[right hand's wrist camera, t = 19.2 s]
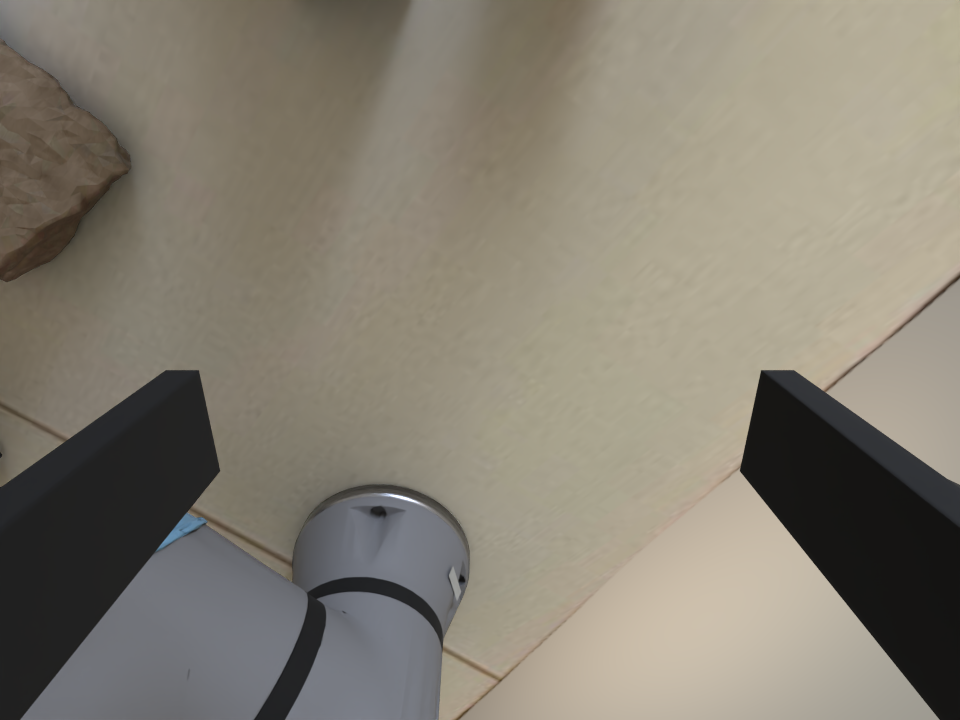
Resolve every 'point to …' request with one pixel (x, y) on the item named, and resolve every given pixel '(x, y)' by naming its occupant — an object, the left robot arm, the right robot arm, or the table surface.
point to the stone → (46, 165)
